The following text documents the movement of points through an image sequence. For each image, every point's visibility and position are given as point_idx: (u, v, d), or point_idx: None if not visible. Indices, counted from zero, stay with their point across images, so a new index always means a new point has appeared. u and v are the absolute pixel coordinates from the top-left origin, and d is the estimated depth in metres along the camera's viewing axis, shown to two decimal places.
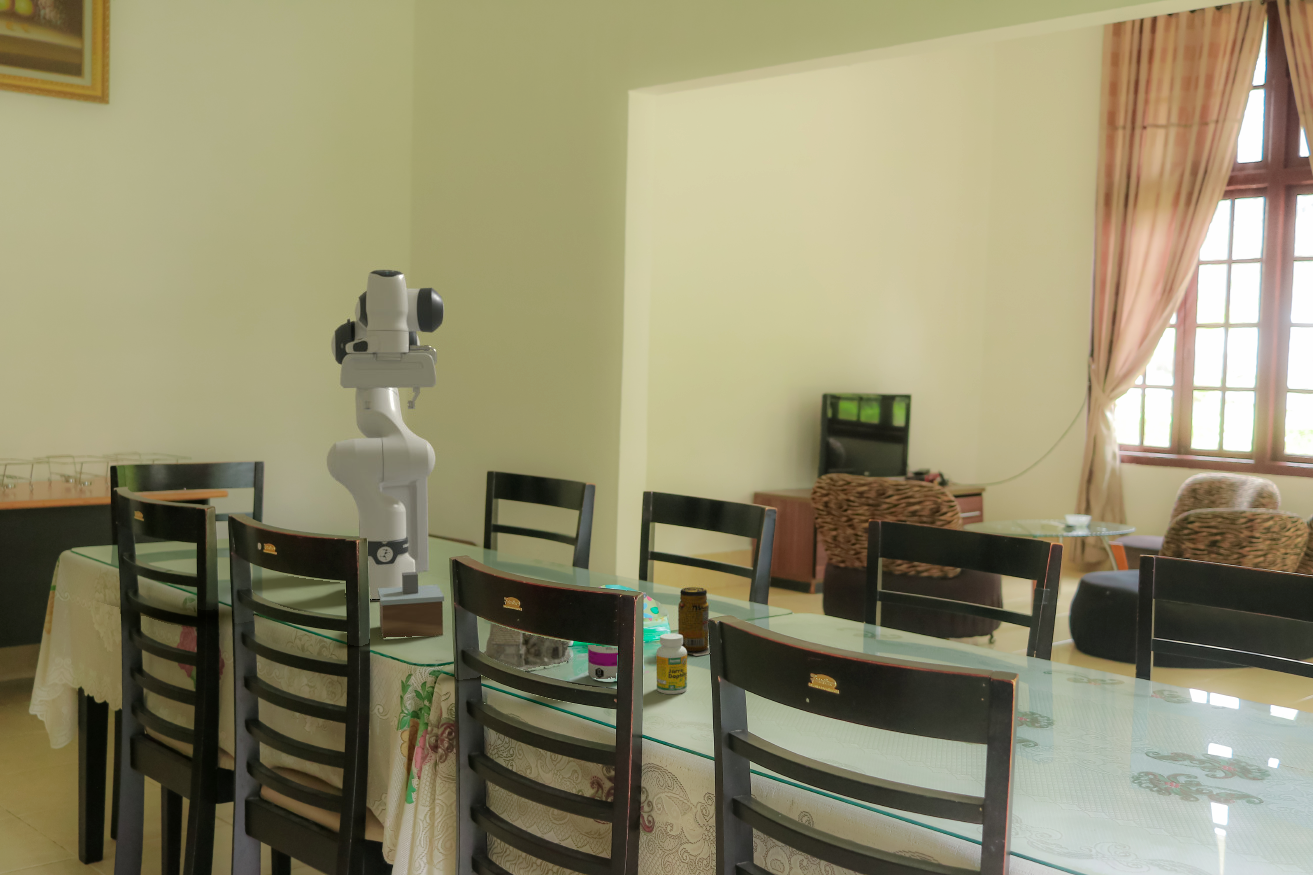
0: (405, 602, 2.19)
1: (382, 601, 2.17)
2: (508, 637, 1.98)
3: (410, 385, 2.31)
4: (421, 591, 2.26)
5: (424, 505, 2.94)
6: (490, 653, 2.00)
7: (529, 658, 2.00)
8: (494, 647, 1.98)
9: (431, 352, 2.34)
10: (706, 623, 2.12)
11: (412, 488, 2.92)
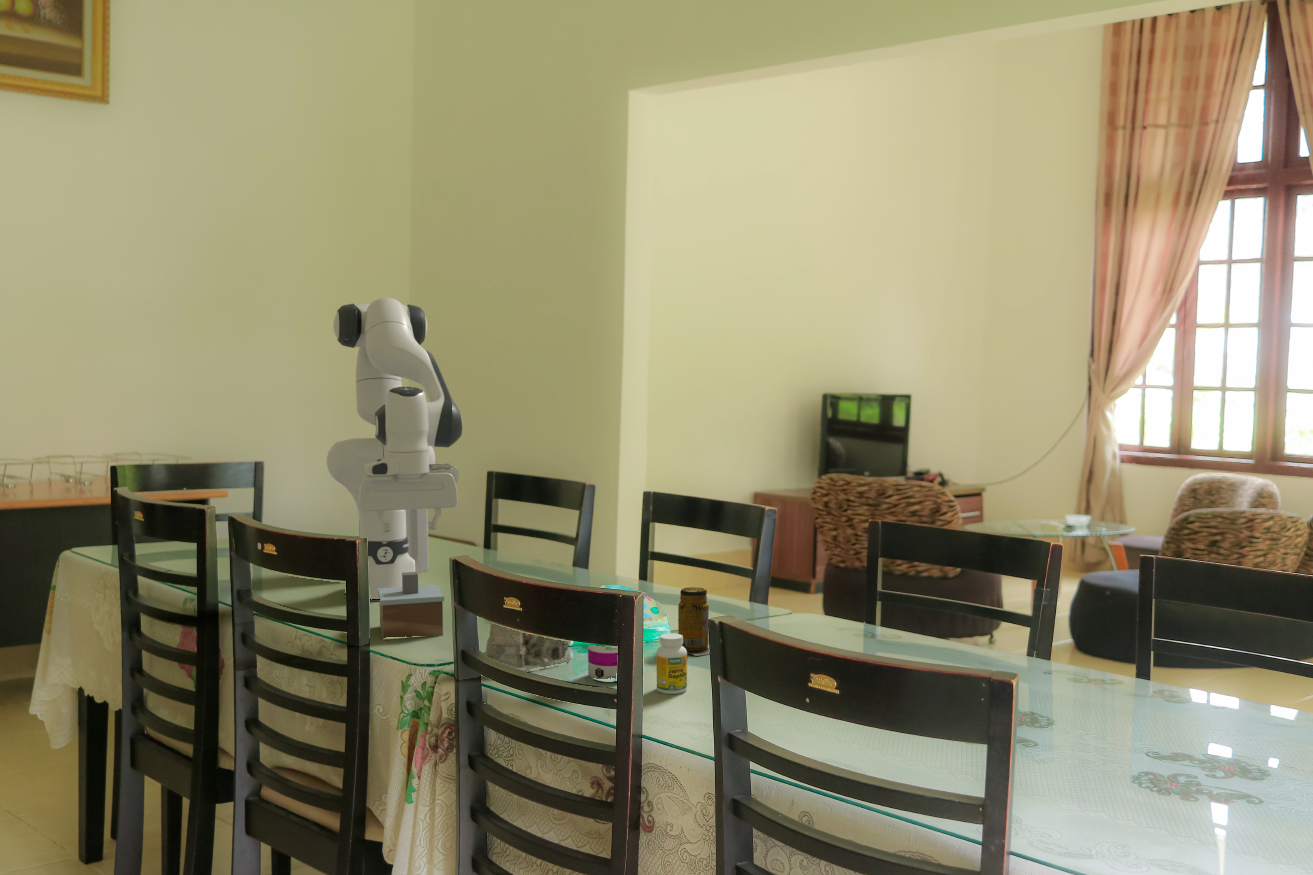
0: (405, 602, 2.19)
1: (382, 601, 2.17)
2: (508, 637, 1.97)
3: (431, 506, 2.23)
4: (421, 591, 2.26)
5: None
6: (490, 653, 1.99)
7: (529, 658, 2.00)
8: (494, 647, 1.97)
9: (452, 471, 2.26)
10: (706, 623, 2.12)
11: None
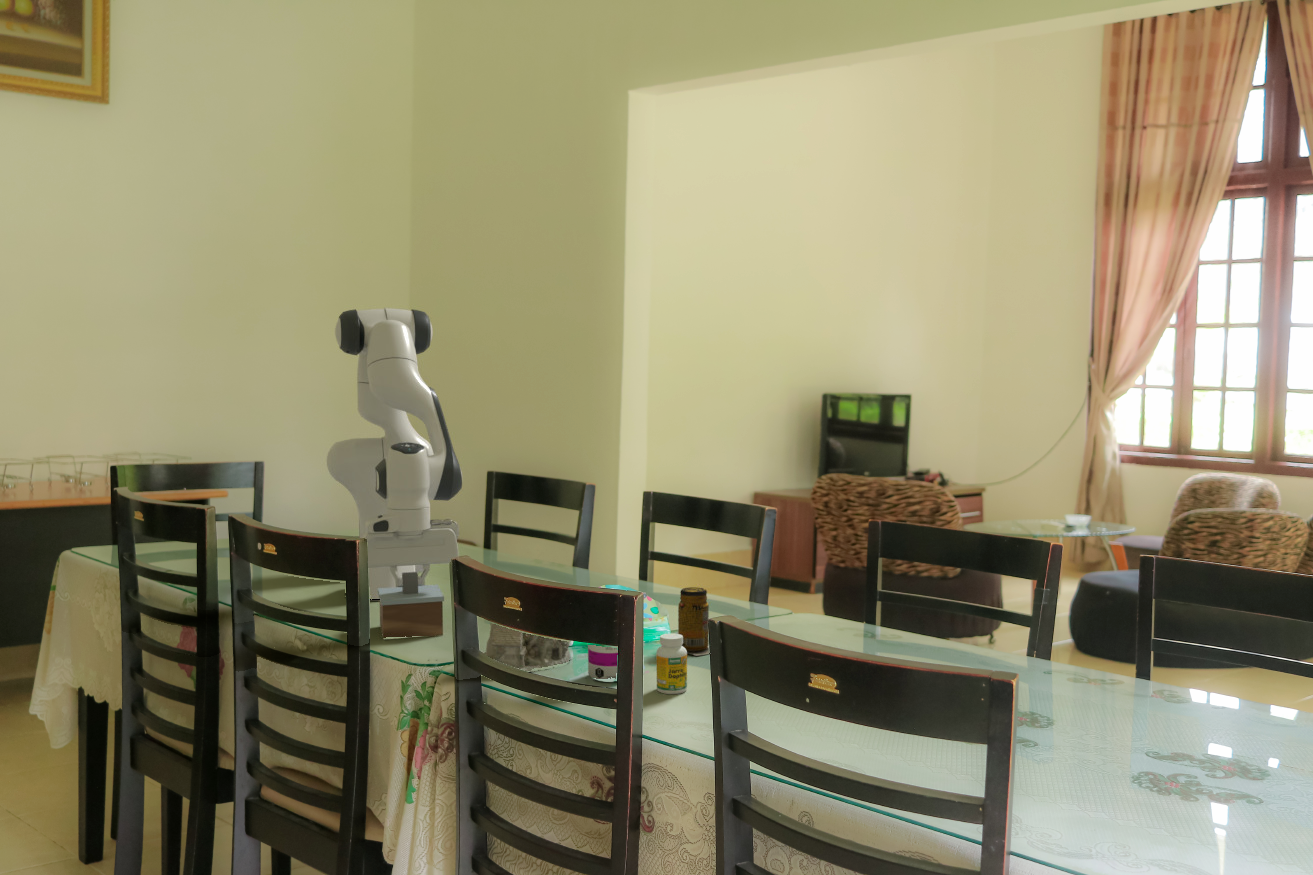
0: (405, 602, 2.19)
1: (382, 601, 2.17)
2: (508, 638, 1.97)
3: (432, 562, 2.24)
4: (421, 591, 2.26)
5: None
6: (490, 654, 1.99)
7: (529, 659, 1.99)
8: (494, 648, 1.97)
9: (453, 526, 2.27)
10: (706, 623, 2.12)
11: None
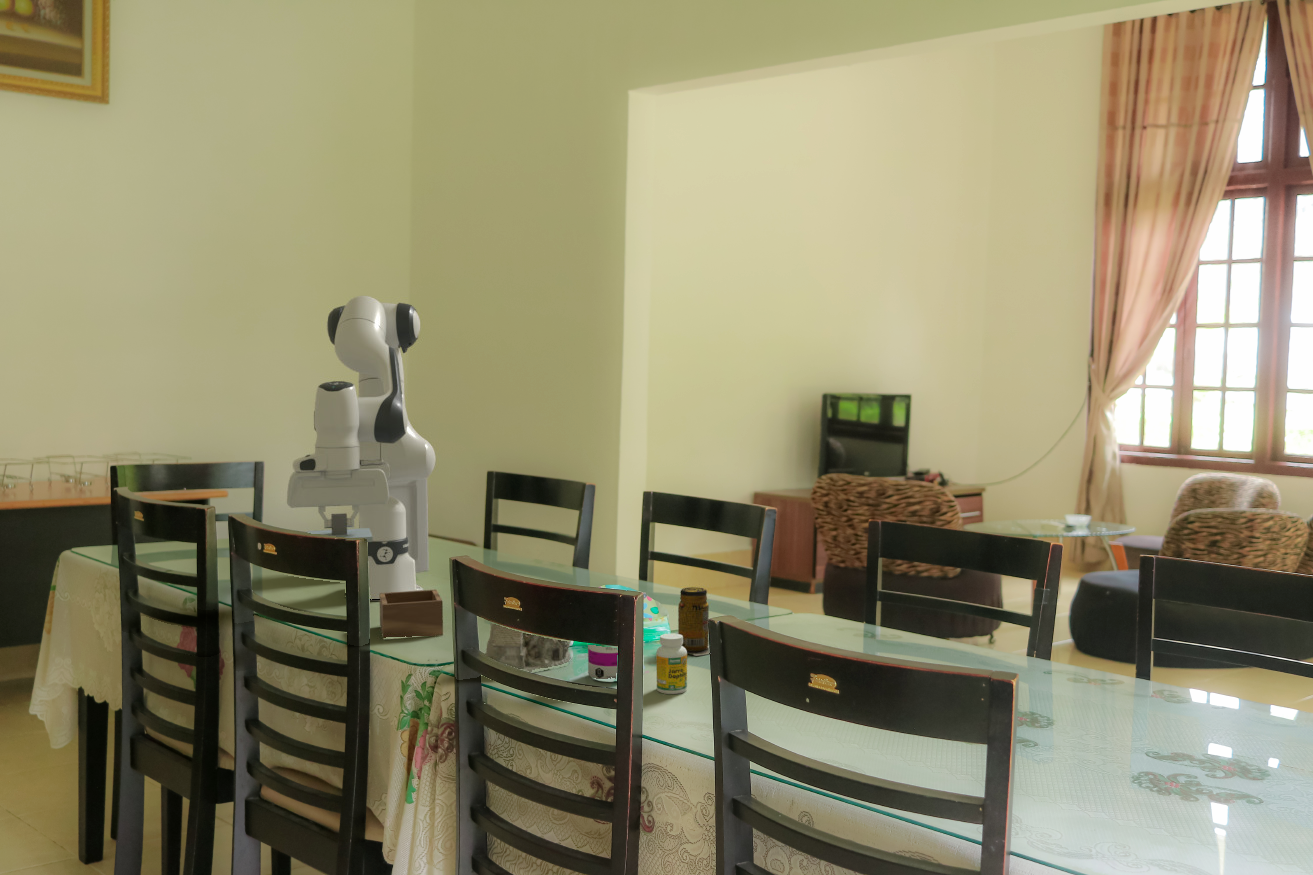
0: None
1: None
2: (509, 639, 1.96)
3: (361, 503, 2.20)
4: (351, 533, 2.22)
5: (424, 505, 2.94)
6: (490, 655, 1.98)
7: (530, 660, 1.99)
8: (494, 649, 1.96)
9: (384, 467, 2.22)
10: (706, 623, 2.12)
11: (412, 488, 2.92)
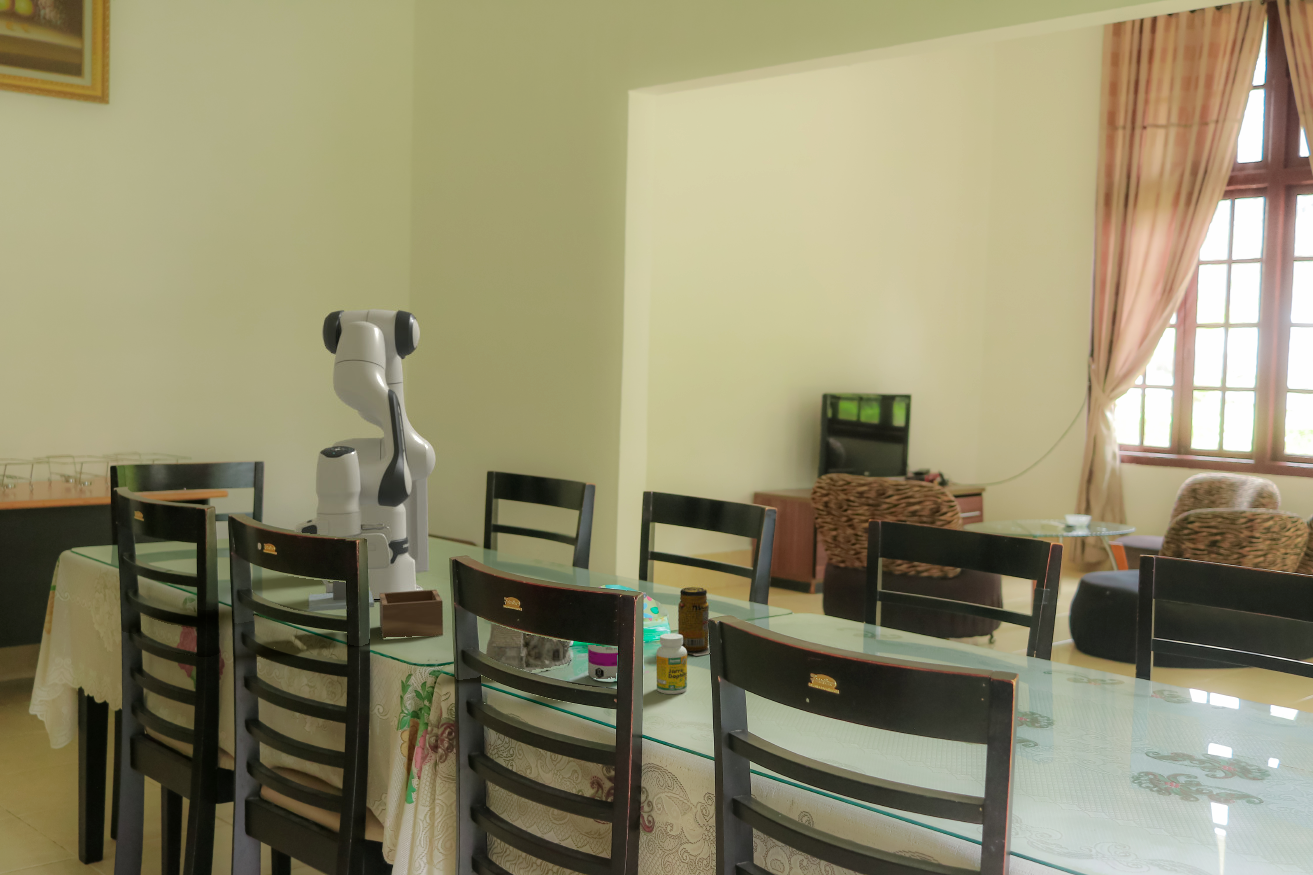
0: (333, 608, 2.15)
1: (310, 607, 2.14)
2: (509, 639, 1.96)
3: None
4: None
5: (424, 505, 2.94)
6: (491, 655, 1.98)
7: (530, 660, 1.98)
8: (495, 650, 1.96)
9: (385, 531, 2.23)
10: (706, 623, 2.12)
11: (412, 488, 2.92)
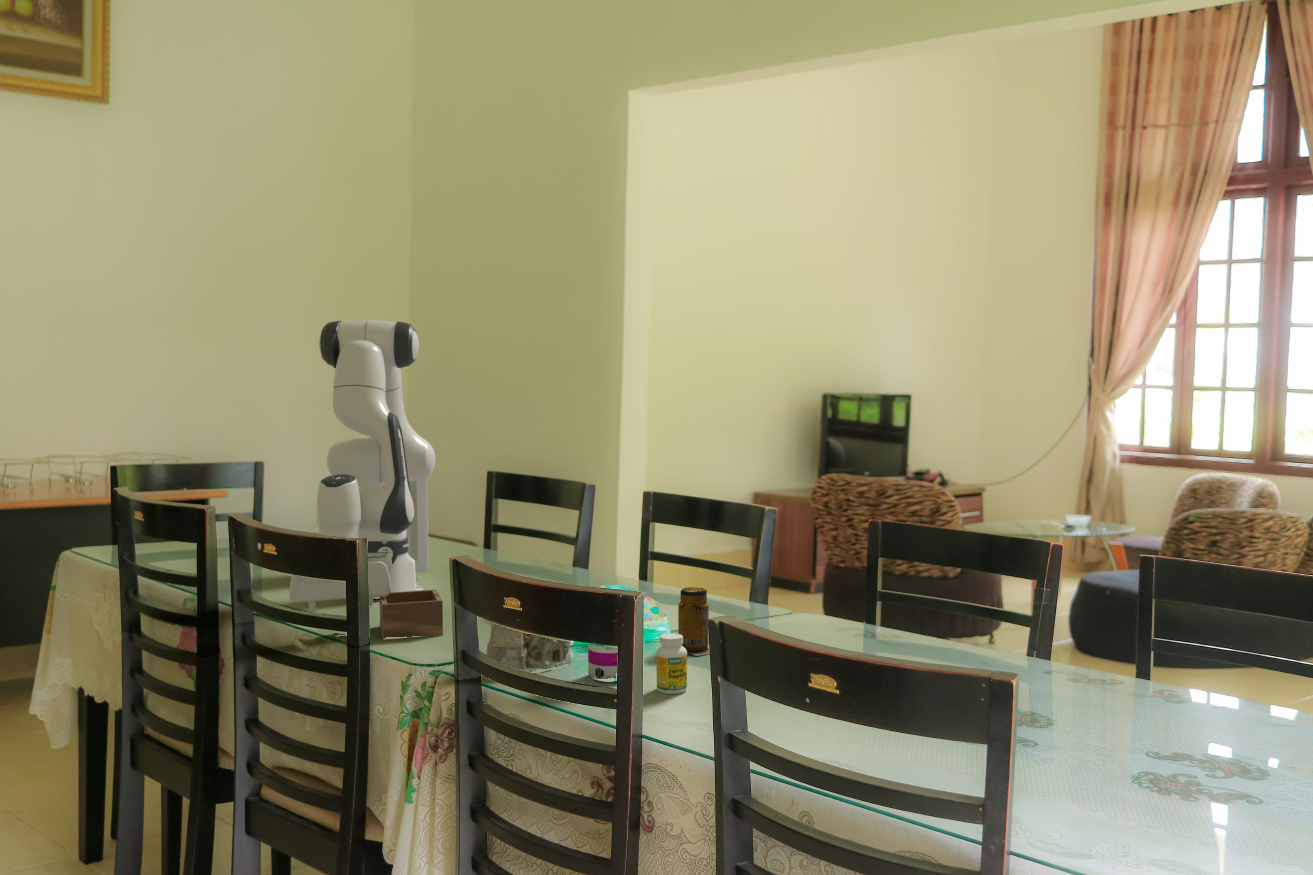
0: None
1: None
2: (509, 640, 1.96)
3: None
4: None
5: (424, 505, 2.94)
6: (491, 656, 1.97)
7: (530, 661, 1.98)
8: (495, 650, 1.95)
9: (385, 559, 2.24)
10: (706, 623, 2.12)
11: (412, 488, 2.92)
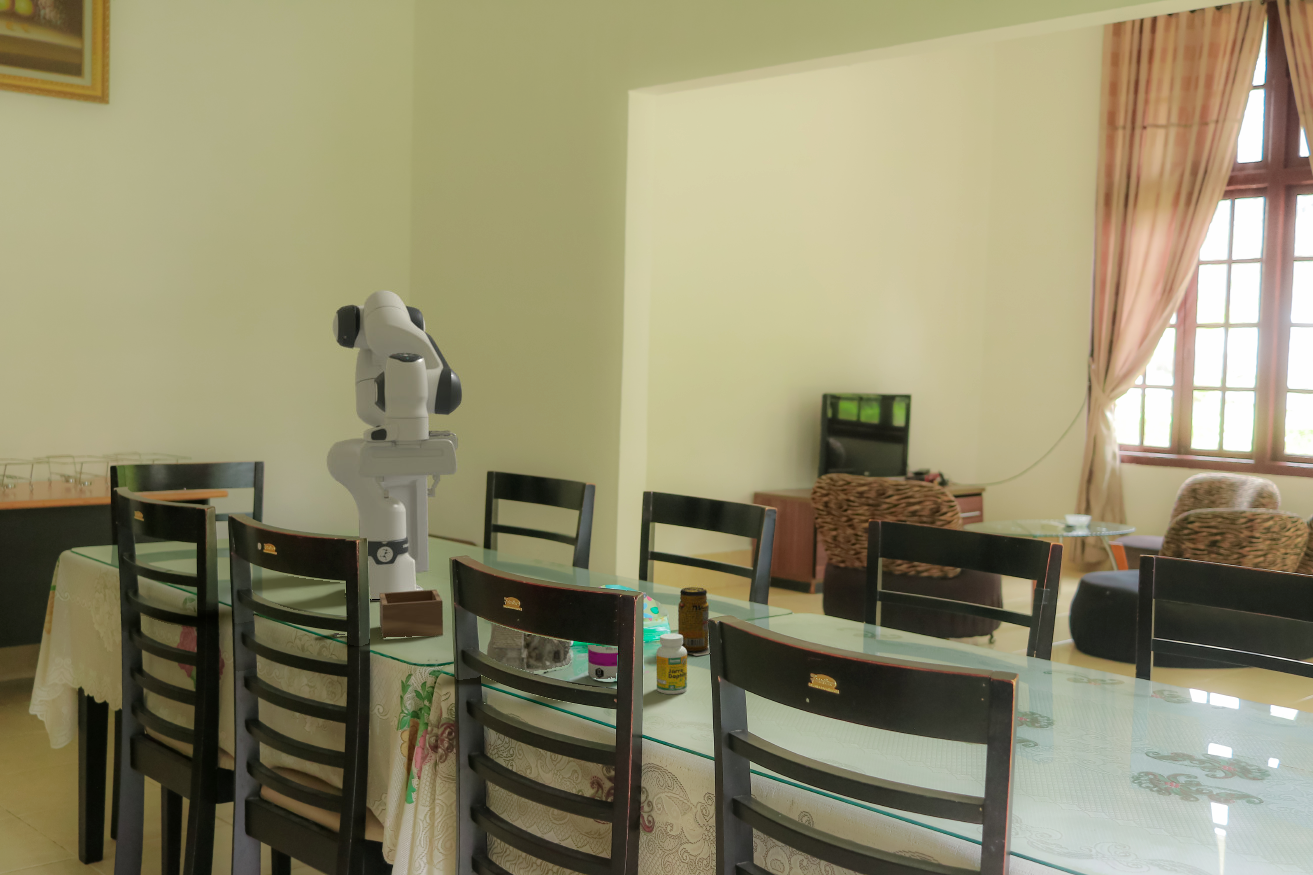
0: None
1: None
2: (510, 641, 1.95)
3: (430, 473, 2.23)
4: None
5: (424, 505, 2.94)
6: (491, 657, 1.97)
7: (531, 662, 1.97)
8: (495, 651, 1.95)
9: (452, 438, 2.25)
10: (706, 623, 2.12)
11: (412, 488, 2.92)
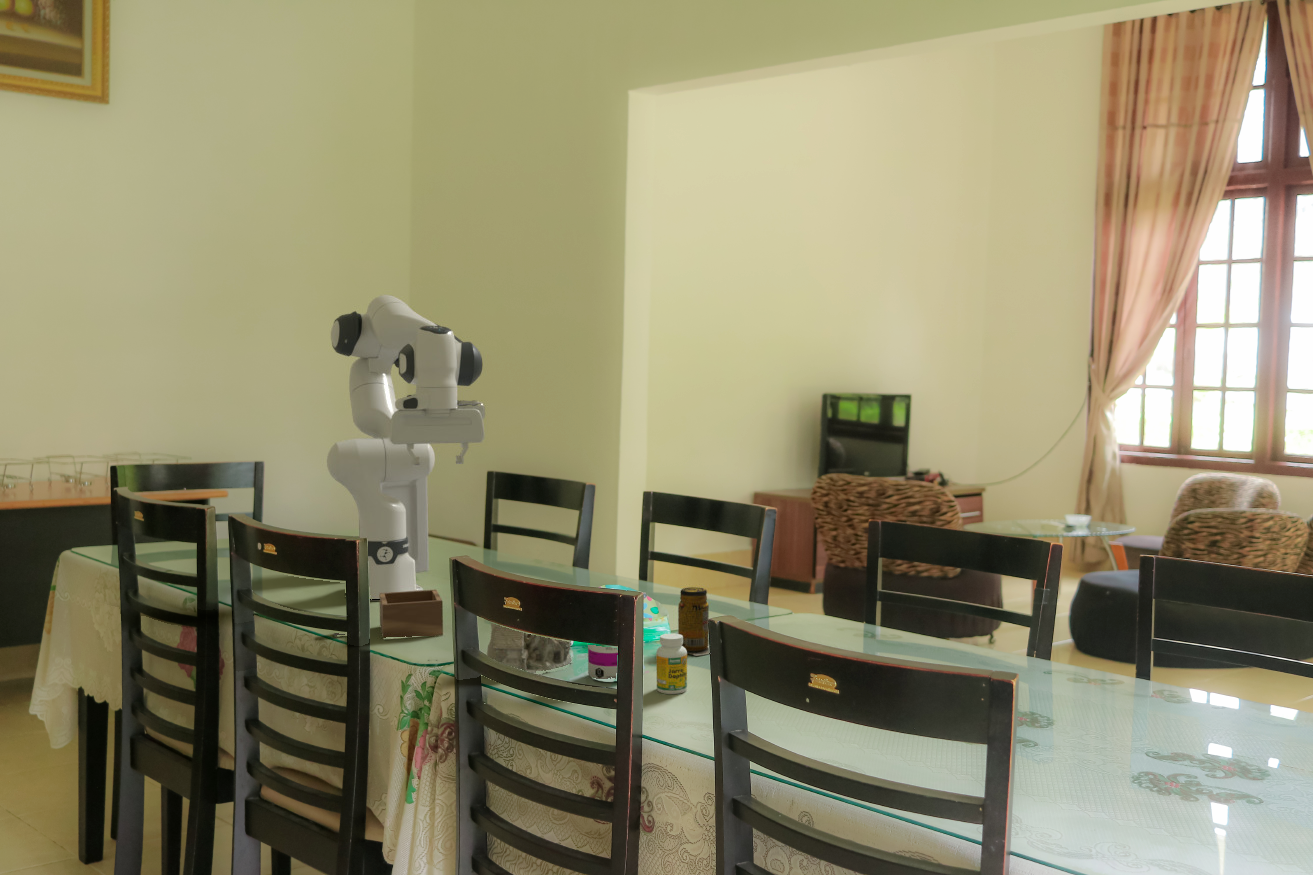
0: None
1: None
2: (510, 641, 1.95)
3: (459, 440, 2.32)
4: None
5: (424, 505, 2.94)
6: None
7: (531, 663, 1.97)
8: (496, 652, 1.94)
9: (479, 407, 2.35)
10: (706, 623, 2.12)
11: (412, 488, 2.92)
